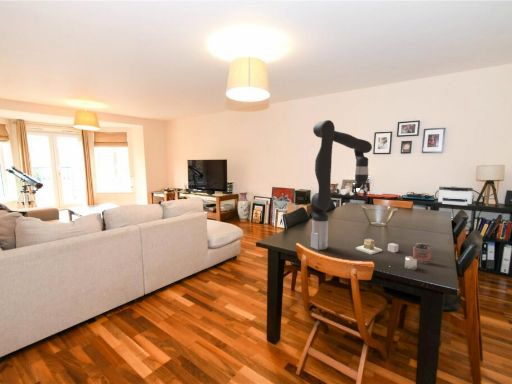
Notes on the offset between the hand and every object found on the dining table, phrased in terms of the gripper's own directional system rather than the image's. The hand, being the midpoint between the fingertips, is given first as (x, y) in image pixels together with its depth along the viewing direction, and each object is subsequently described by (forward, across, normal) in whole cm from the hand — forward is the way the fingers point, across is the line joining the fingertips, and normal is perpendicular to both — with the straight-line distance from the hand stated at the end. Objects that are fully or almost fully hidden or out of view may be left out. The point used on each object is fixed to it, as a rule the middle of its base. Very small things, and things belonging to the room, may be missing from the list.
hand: (360, 198), depth 162 cm
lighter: (+28, +1, +39) cm, 48 cm away
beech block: (+27, +9, +14) cm, 32 cm away
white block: (+28, -2, +22) cm, 36 cm away
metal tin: (+28, +13, +40) cm, 51 cm away
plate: (+28, +9, +14) cm, 33 cm away
